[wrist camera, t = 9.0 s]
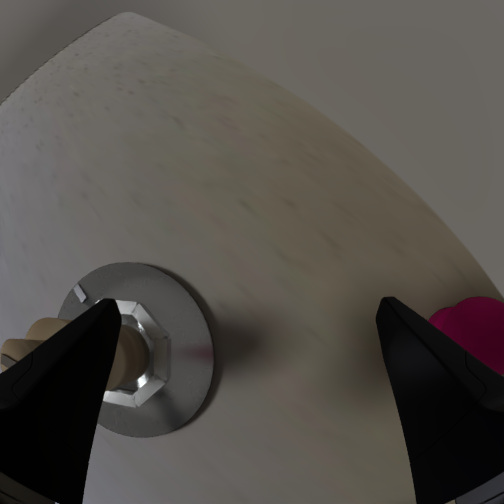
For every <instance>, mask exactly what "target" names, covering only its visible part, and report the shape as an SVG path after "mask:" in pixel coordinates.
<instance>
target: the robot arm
mask: <svg viewBox="0 0 504 504" xmlns="http://www.w3.org/2000/svg"><path fill="white" fill-rule="evenodd" d="M376 324H377V329H378V334H379V339H380V344H381V349H382V354H383V359H384V362H385V366H386V369H387V373H388V376H389V379H390V383H391V386H392V390H393V394H394V397H395V401H396V405H397V409H398V413H399V417H400V421H401V425H402V429H403V433H404V438H405V442H406V447H407V451H408V456H409V461H410V467H411V472H412V478H413V484H414V490H415V496H416V503H417V504H445V503H447V502H450V501H452V500H454V499H455V503H456V504H504V377H503V376H502V375H500V374H499V373H497V372H496V371H494V370H493V369H491V368H490V367H488V366H487V365H485V364H484V363H482V362H481V361H480V360H479V359H477V358H476V357H475V356H473V355H472V354H471V353H469V352H468V351H467V350H465V349H464V348H463V347H462V346H460V345H459V344H458V343H456V342H455V341H454V340H452V339H451V338H450V337H448V336H447V335H446V334H444V333H443V332H442V331H440V330H439V329H438V328H436V327H435V326H434V325H432V324H431V323H430V322H428V321H427V320H426V319H424V318H423V317H421V316H420V315H419V314H417V313H416V312H415V311H413V310H412V309H410V308H409V307H408V306H406V305H405V304H403V303H402V302H401V301H399V300H398V299H396V298H395V297H383V298H382V299H381V302H380V305H379V308H378V311H377V314H376ZM121 325H122V316H121V313H120V311H119V308H118V305H117V302H116V300H115V299H113V298H103V299H102V300H100V301H99V302H97V303H96V304H95V305H93V306H92V307H90V308H89V309H88V310H86V311H85V312H83V313H82V314H81V315H79V316H78V317H76V318H75V319H74V320H72V321H71V322H70V323H68V324H67V325H66V326H64V327H63V328H62V329H60V330H59V331H57V332H56V333H55V334H53V335H52V336H51V337H49V338H48V339H47V340H45V341H44V342H43V343H42V344H40V345H39V346H38V347H36V348H35V349H34V351H31V352H30V353H29V354H27V355H26V356H25V357H23V358H22V359H21V360H19V361H18V362H17V363H15V364H14V365H12V366H11V367H10V368H8V369H7V370H5V371H4V372H2V373H1V374H0V504H55V502H57V503H59V504H82V502H83V495H84V488H85V482H86V476H87V470H88V465H89V459H90V454H91V449H92V444H93V439H94V435H95V430H96V426H97V422H98V417H99V413H100V409H101V405H102V402H103V398H104V394H105V390H106V387H107V383H108V380H109V376H110V373H111V369H112V366H113V362H114V359H115V354H116V349H117V344H118V339H119V334H120V329H121Z"/></svg>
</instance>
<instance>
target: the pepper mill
mask: <svg viewBox="0 0 504 504" xmlns="http://www.w3.org/2000/svg"><path fill="white" fill-rule="evenodd" d="M428 322H430V323H431V324H432V325H434V326H435V327H436V328H438V329H439V330H440V331H442V332H443V333H444V334H446V335H447V336H448V337H450V338H451V339H452V340H454V341H455V342H456V343H458V344H459V345H460V346H462V347H463V348H464V349H465V350H467V351H468V352H469V353H471V354H472V355H473V356H475V357H476V358H477V359H479V360H480V361H481V362H482V363H484V364H485V365H487V366H488V367H490V368H491V369H493V370H494V371H496V372H497V373H499V374H500V375H502V374H504V303H502V302H500V301H498V300H496V299H493V298H488V297H471V298H467V299H465V300H463V301H461V302H460V303H458V304H457V305H456V306H455V307H449V308H444V309H441V310H439V311H437V312H436V313H435V314H434V315H432V316H431V318H430V319H429V320H428Z"/></svg>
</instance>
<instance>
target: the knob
mask: <svg viewBox="0 0 504 504" xmlns="http://www.w3.org/2000/svg"><path fill="white" fill-rule="evenodd" d="M71 321H72V320H67V319H58V318H42V319H40V320H38V321H36V322H35V323H34V324H33V325H32V326H31V327H30V329H29V331H28V333H27V335H26V338H25V339H8V340H6V341H5V342H4V344H3V346H2V348H1V353H0V363H1V368H2V372H4V371H5V370H7V369H8V368H10V367H11V366H12V365H14V364H15V363H17V362H18V361H19V360H21V359H22V358H23V357H25V356H26V355H27V354H29V353H30V352H31V351H34V349H35V348H36V347H38V346H39V345H40V344H42V343H43V342H44V341H45V340H47V339H48V338H49V337H51V336H52V335H53V334H55V333H56V332H57V331H59V330H60V329H62V328H63V327H64V326H66V325H67V324H68V323H70V322H71ZM149 358H150V355H149V348H148V345H147V343H146V341H145V339H144V337H143V336H142V335H141V333H140V332H139V331H137V330H136V329H135V328H133V327H131V326H128V325H124V324H122V325H121V329H120V334H119V339H118V344H117V349H116V354H115V359H114V362H113V366H112V369H111V373H110V376H109V380H108V383H107V387H106V390H105V392H106V391H109V390H111V389H114V388H117V387H119V386H122V385H124V384H127V383H129V382H132V381H135V380H137V379H139V378H140V377H141V376H142V375H143V374H144V373H145V371H146V370H147V368H148V365H149Z"/></svg>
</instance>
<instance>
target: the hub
mask: <svg viewBox="0 0 504 504" xmlns="http://www.w3.org/2000/svg"><path fill="white" fill-rule="evenodd" d="M103 298H113V299H115V300H116V302H117V305H118V308H119V311H120V313H121V316H122V324H124V325H128V326H131V327H133V328H135V329H136V330H137V331H139V332H140V333H141V335H142V336H143V337H144V339H145V341H146V343H147V345H148V348H149V355H150V358H149V365H148V368H147V370H146V371H145V373H144V374H143V375H142V376H141V377H140V378H139V379H137V380H135V381H132V382H129V383H127V384H124V385H122V386H119V387H117V388H114V389H111V390H109V391H106V392H105V394H104V398H103V402H102V405H101V409H100V413H99V417H98V422H97V423H98V424H100V425H101V426H103V427H105V428H106V429H109V430H111V431H113V432H115V433H118V434H122V435H125V436H131V437H146V438H147V437H155V436H159V435H163V434H166V433H169V432H171V431H173V430H175V429H177V428H179V427H180V426H181V425H183V424H184V423H186V422H187V421H188V420H189V419H190V418H191V417H192V416H193V415H194V414H195V413H196V411H197V410H198V409H199V407H200V406H201V405H202V403H203V401H204V399H205V397H206V396H207V394H208V391H209V388H210V385H211V382H212V378H213V373H214V362H215V358H214V345H213V340H212V335H211V332H210V329H209V325H208V323H207V321H206V318H205V316H204V314H203V312H202V310H201V309H200V307H199V305H198V304H197V302H196V301H195V300H194V298H193V297H192V296H191V295H190V293H189V292H188V291H187V290H186V289H185V288H184V287H183V286H182V285H181V284H179V283H178V282H177V281H175V280H174V279H173V278H171V277H170V276H168V275H166V274H165V273H163V272H161V271H160V270H157V269H155V268H152V267H150V266H147V265H143V264H139V263H129V262H125V263H114V264H109V265H106V266H103V267H100V268H98V269H96V270H94V271H92V272H90V273H89V274H87V275H86V276H85V277H83V278H82V279H81V280H80V281H79V282H78V283H77V284H76V285H75V286H74V287H73V288H72V290H71V291H70V292H69V294H68V295H67V297H66V299H65V300H64V302H63V305H62V307H61V309H60V312H59V315H58V319H67V320H74V319H75V318H76V317H78V316H79V315H81V314H82V313H83V312H85V311H86V310H88V309H89V308H90V307H92V306H93V305H95V304H96V303H97V302H99V301H100V300H102V299H103Z"/></svg>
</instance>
